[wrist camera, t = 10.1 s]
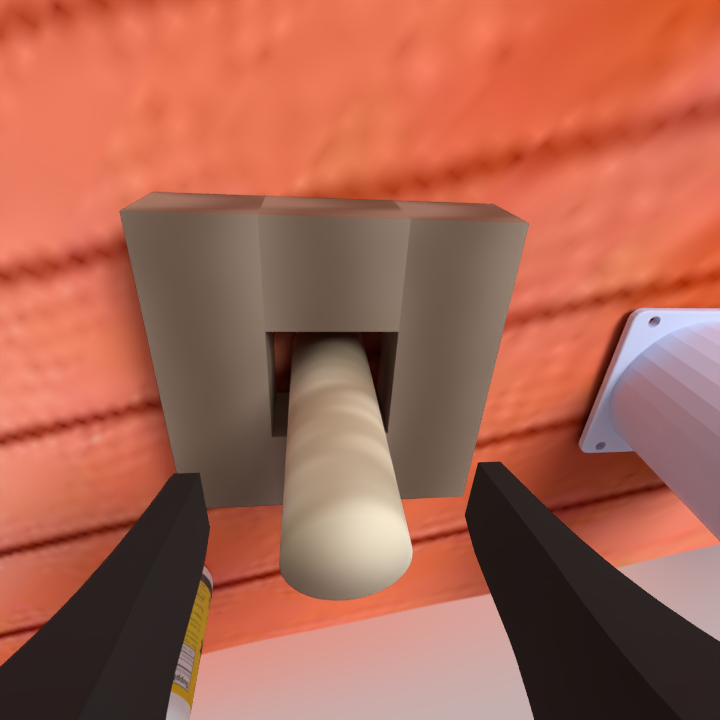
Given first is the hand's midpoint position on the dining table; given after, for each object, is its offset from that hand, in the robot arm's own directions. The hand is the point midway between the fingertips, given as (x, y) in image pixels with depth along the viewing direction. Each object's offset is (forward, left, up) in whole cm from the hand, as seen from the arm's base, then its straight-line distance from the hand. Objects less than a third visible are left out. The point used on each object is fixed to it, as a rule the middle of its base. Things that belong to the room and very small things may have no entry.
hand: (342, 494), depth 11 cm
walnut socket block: (0, 0, -8) cm, 8 cm away
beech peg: (0, 0, -8) cm, 8 cm away
